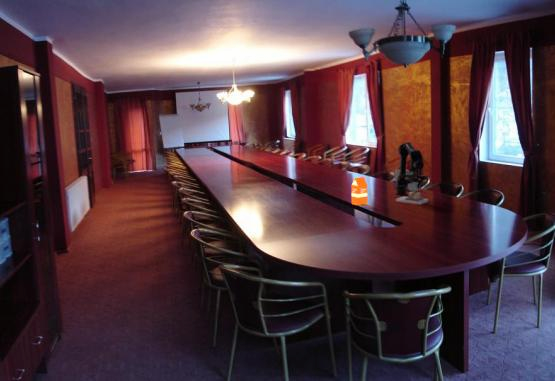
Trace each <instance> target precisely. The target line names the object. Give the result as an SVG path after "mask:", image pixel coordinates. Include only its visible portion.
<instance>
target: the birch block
mask: <svg viewBox="0 0 555 381" xmlns="http://www.w3.org/2000/svg"><path fill="white" fill-rule="evenodd" d="M408 197H409V199H420V197H421V192H420V191H410V192H408Z"/></svg>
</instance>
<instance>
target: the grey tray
mask: <svg viewBox="0 0 555 381" xmlns="http://www.w3.org/2000/svg"><path fill="white" fill-rule="evenodd" d="M395 202H397V203H404V204H413V205H424V204H427V203H428V202H429V198H424V197H423V196H422V197H421V196H420V199H409V196H405V195H402V196H400V197H397V198H395Z"/></svg>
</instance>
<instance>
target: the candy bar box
mask: <svg viewBox="0 0 555 381" xmlns="http://www.w3.org/2000/svg"><path fill="white" fill-rule="evenodd" d="M408 172H410V169H406V174H407V173H408ZM399 175H400V169H394V189H395V190H397V187H396V185H395V184H396V181H397V178H398V176H399ZM398 186H399V185H398ZM406 189H407V190H409V184H408V187H406Z"/></svg>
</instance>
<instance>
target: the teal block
mask: <svg viewBox="0 0 555 381" xmlns="http://www.w3.org/2000/svg"><path fill="white" fill-rule="evenodd" d="M408 191H412V192H419V191H421V187H420V188H419V189H418V182H415V181H412V183H409V189H408Z"/></svg>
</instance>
